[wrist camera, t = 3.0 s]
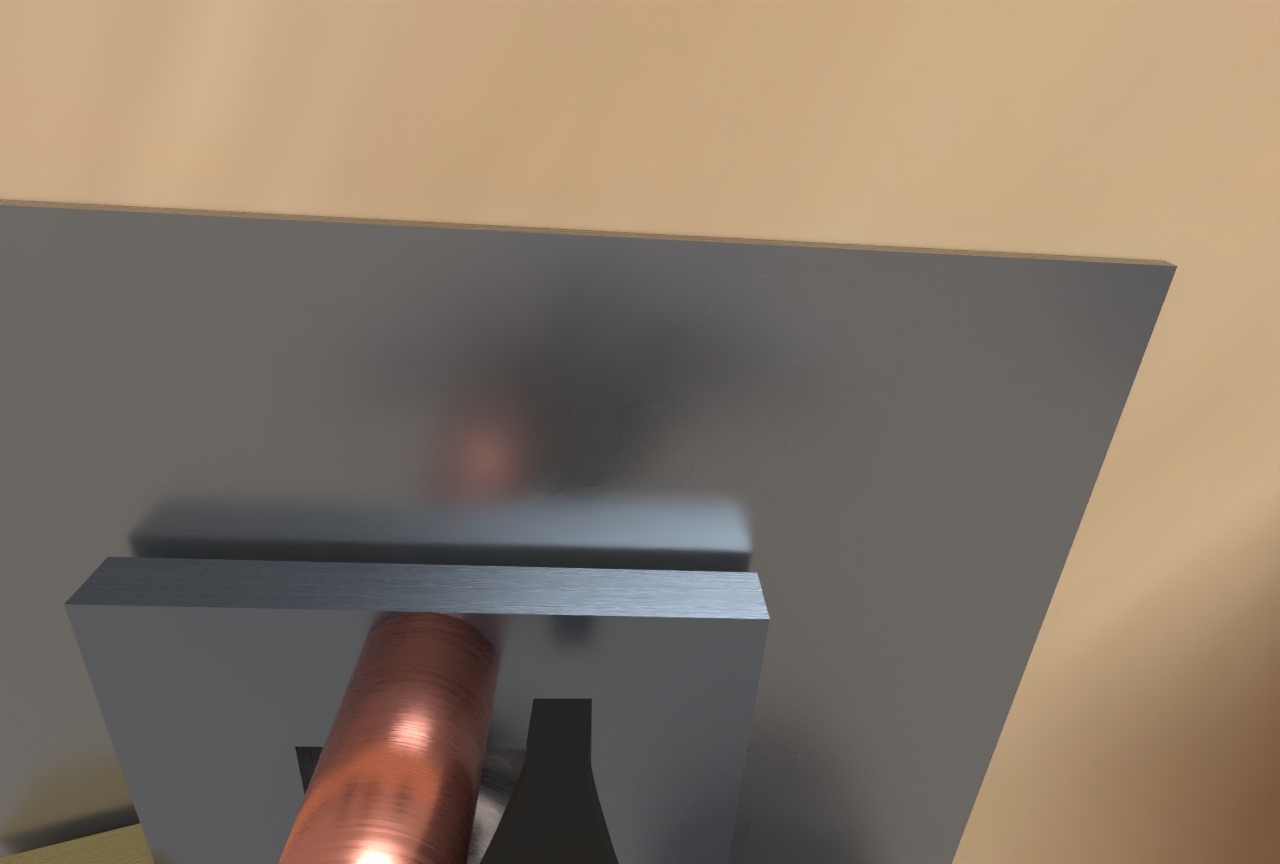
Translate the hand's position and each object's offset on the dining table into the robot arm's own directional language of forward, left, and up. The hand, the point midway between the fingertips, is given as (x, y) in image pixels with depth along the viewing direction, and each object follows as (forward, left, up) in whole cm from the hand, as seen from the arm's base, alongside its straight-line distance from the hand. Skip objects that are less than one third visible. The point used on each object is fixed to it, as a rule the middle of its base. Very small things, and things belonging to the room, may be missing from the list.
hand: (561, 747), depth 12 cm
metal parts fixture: (+4, +4, -3) cm, 7 cm away
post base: (+2, +4, -3) cm, 6 cm away
